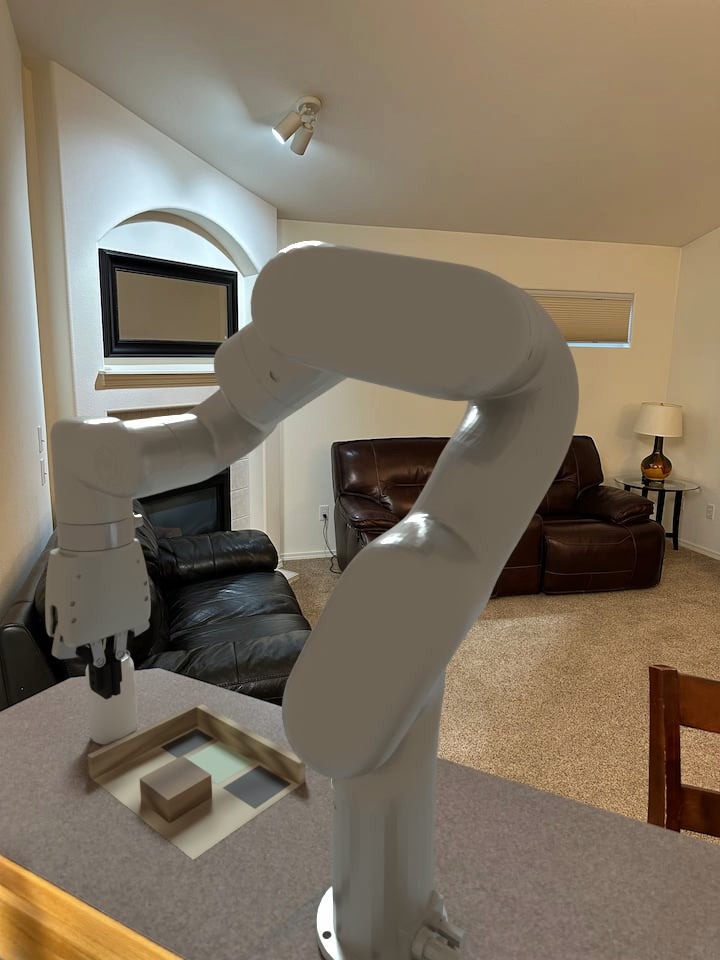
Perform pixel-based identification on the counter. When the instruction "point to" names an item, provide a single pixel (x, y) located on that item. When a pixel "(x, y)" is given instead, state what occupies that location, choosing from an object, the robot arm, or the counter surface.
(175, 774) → the block
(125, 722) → the can
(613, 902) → the counter surface
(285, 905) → the counter surface
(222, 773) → the green pad
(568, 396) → the robot arm
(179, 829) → the board
